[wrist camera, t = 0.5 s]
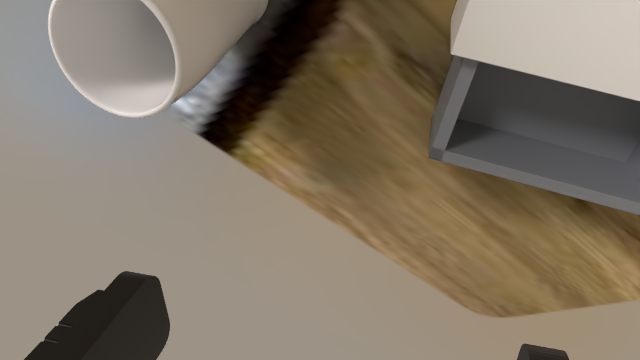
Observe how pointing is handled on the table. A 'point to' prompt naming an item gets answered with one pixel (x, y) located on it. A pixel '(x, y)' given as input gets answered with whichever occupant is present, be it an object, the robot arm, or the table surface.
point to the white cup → (144, 47)
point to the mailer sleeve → (555, 40)
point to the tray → (539, 133)
